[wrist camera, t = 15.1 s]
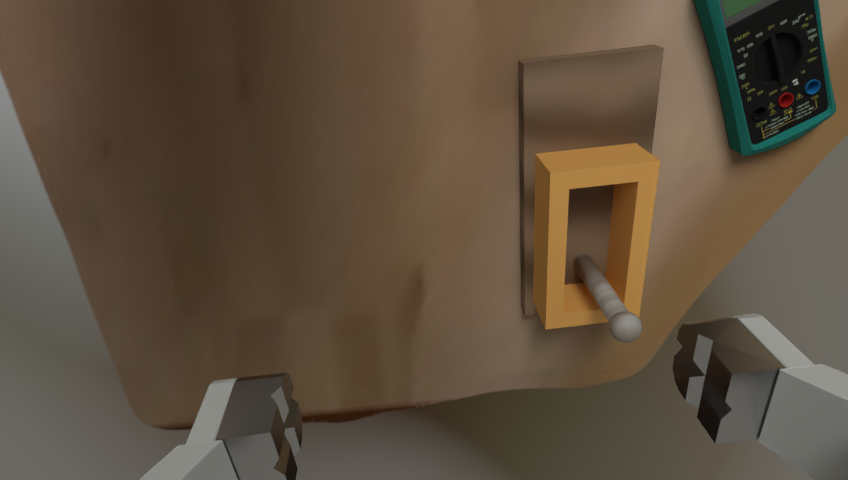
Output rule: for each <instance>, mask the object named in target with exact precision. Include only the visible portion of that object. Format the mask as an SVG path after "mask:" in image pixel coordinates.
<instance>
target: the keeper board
mask: <svg viewBox="0 0 848 480" xmlns="http://www.w3.org/2000/svg"><path fill="white" fill-rule="evenodd" d="M663 49H664V48H662V47H659V46H656V45H648V46H639V47H631V48H622V49H613V50H605V51H596V52H587V53H579V54H570V55H561V56H553V57H544V58H535V59H527V60H519V148H520V242H521V307H522V309H523V312H524V314H525V316H527V315H535V314H538V312H537V309H536V307H535V305H534V302H533V275H534V214H535V154H538V153H548V152H557V151H566V150H575V149H585V148H594V147H603V146H612V145H622V144H631V143H637V144H638V145H639V146H641V147H642V148H644V149H645V150H646V151H648V152H649V153H650V154H651V153H652V145H653V136H654V127H655V119H656V110H657V101H658V93H659V84H660V75H661V67H662V58H663ZM613 193H614V184H612V185H603V186H594V187H585V188H575V189H569V205H568V225H567V244H566V264H565V284H564V285H568V284H576V283H585V285H586V286H587V288H588V290H589V291H590V293H591V294H592V296H593V298H594V299H595V301H596V302H597V304H598V306H599V307H600V309H601V310H602V312H603V314H604V315H605V317H606V318H607V320H608V322H609V330H610V333H611V335H612V336H613V337H614V338H615V339H616V340H618V341H621V342H626V343H627V342H632V341H634V340H636V339H637V338H638V337H639V336H640V334H641V331H642V324H641V321H640V319H639V318H638V317H637V316H636V315H635V314H633V313H631V312H629V311H628V310H627V308H626V307H625V305H624V304H623V303H622V301H621V300H620V298H619V297H618V295H617V294H616V292H615V291H614V290H613V288H612V287H611V285H610V284H609V282H608V281H607V280H606V278H605V277H606V267H607V256H608V246H609V235H610V224H611V214H612V203H613Z"/></svg>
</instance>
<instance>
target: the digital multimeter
mask: <svg viewBox="0 0 848 480" xmlns="http://www.w3.org/2000/svg"><path fill="white" fill-rule="evenodd" d="M694 1H695V5H696V8H697V11H698V15H699V18H700V21H701V24H702V28H703V31H704V34H705V37H706V41H707V45H708V48H709V52H710V56H711V60H712V64H713V67H714V71H715V75H716V79H717V83H718V88H719V93H720V98H721V103H722V108H723V112H724V117H725V123H726V129H727V134H728V140H729V146H730V148H731V149H733V150H735V151H737V152H738V153H740V154H742V155H744V156H749V155H753V154H757V153H761V152H765V151H768V150H771V149H774V148H777V147H780V146H783V145H785V144H787V143H789V142H791V141H793V140H795V139H798V138H799V137H801V136H803V135H804V134H806V133H807V132H809V131H811V130H812V129H814V128H815V127H817V126H818V125H820V124H821V123H822V122H824V121H825V120H827V119H828V118H829V117H831V116H832V115H833V114H834V113H835V111H836V104H835V99H834V95H833V90H832V85H831V80H830V75H829V69H828V64H827V58H826V52H825V47H824V41H823V34H822V26H821V17H820V9H819V1H818V0H694ZM726 32H727V33H726ZM727 37H728V38H727ZM728 41H729V42H728ZM729 45H730V47H729ZM804 45H805V46H804ZM730 50H731V51H730ZM731 54H732V56H731ZM732 59H733V60H732ZM733 63H734V65H733ZM734 68H735V69H734ZM735 72H736V74H735ZM736 77H737V78H736ZM737 81H738V82H737ZM738 86H739V87H738ZM739 90H740V91H739ZM740 94H741V96H740ZM741 99H742V100H741ZM742 103H743V104H742ZM745 117H746V118H745ZM746 121H747V122H746ZM747 126H748V127H747ZM748 130H749V131H748ZM750 139H751V140H750Z"/></svg>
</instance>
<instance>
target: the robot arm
mask: <svg viewBox="0 0 848 480" xmlns="http://www.w3.org/2000/svg"><path fill="white" fill-rule="evenodd" d="M677 340H678V341H679V342H680V344H681V345H682V346H683V347H682V348H681V349H680V350H679V351H678V352H677V353H676V354H675V356H674V362H673V373H674V379H675V383H676V385H677V387H678V390H679V392H680V393H681V395H682V396H683V398H684V399H685V401H687V402H689V403H690V404H692V405H694V406H696V407H698V408H699V409H698V415H697V418H698V420H699V421H700V423H701V424H702V426H703V427H704V428H705V430H706V431H707V433H708V434H709V436H710V437H711V439H712V440H713V441H714V443H715V444H718V443H728V442H738V441H747V440H758V439H759V441H758V442H760V443H761V444H763V445H764V446H766V447H767V448H769V449H770V450H772V451H773V452H774V453H776V454H777V455H779V456H780V457H782V458H784V459H785V460H786V461H788V462H789V463H791V464H792V465H794V466H795V467H797V468H798V469H800V470H801V471H803V472H804V473H806V474H807V475H809V476H810V477H812V478H813V479H815V480H848V374H845V373H843V372H840V371H838V370H836V369H833V368H831V367H828V366H826V365H823V364H819V365H814V364H813V363H812V362H811V361H810V360H809V359H808V358H807V357H806V356H805V355H803V354H802V353H801V352H800V351H799V350H798V349H797V348H796V347H795V346H794V345H793V344H792V343H791V342H790V341H788V340H787V339H786V338H785V337H784V336H783V335H782V334H781V333H780V332H779V331H778V330H777V329H776V328H775V327H774V326H772V325H771V324H770V323H769V322H768V321H767V320H766V319H765V318H764V317H763V316H761V315H759V314H756V313H753V314H746V315H740V316H732V317H730V318H721V319H713V320H706V321H698V322H691V323H683V324H682V325H681V327H680V328H679V331H678V337H677ZM292 393H293V384H292V381H291V378H290V375H289V374H287V373H279V374H269V375H259V376H249V377H239V378H234V379H224V380H214V381H213V382H212V383H211V384H210V385H209V387H208V389H207V392H206V394H205V397H204V399H203V402H202V404H201V407H200V409H199V412H198V414H197V417H196V419H195V422H194V424H193V427H192V429H191V432H190V434H189V437H188V439H187V442H186V444H185V445H178V446H177V447H176V448H174V449H173V450H172V451H171V452H170V453H169V454H168V455H167V456H165V457H164V458H163V459H162V460H161V461H160V462H159V463H158V464H156V465H155V466H154V467H153V468H152V469H151V470H149V471H148V472H147V473H146V474H145V475H144V476H143V477H142V478H140V479H139V480H296V475H297V465H296V462H295V459H294V456H295V455H296V454H297V453H298V452H299V451H300V450H301V442H302V418H301V411H300V408H299V404H298V402H296V401H295V400H293V399H292Z"/></svg>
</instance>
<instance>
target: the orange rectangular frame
mask: <svg viewBox="0 0 848 480" xmlns="http://www.w3.org/2000/svg"><path fill="white" fill-rule="evenodd" d="M659 167H660V160H658V159H657V158H656V157H654V156H653V155H652V154H650V153H649V152H648V151H646V150H645V149H644V148H642V147H641V146H639V145H638V144H637V143H631V144H622V145H612V146H603V147H594V148H585V149H575V150H566V151H557V152H548V153H538V154H535V214H534V275H533V302H534V305H535V307H536V309H537V312H538V314H539V316H540V318H541V321H542V323H543V325H544V327H545V330H546V329H555V328H563V327H572V326H580V325H589V324H597V323H606V322H608V320H607V318H606V317H605V315H604V314H603V312H602V310H601V309H600V307H599V306H598V304H597V302H596V301H595V299H594V298H593V296H592V294H591V293H590V291H589V290H588V288H587V286H586V285H585V283H576V284H568V285H564V284H565V264H566V244H567V225H568V205H569V189H575V188H585V187H594V186H603V185H612V184H614V193H613V203H612V214H611V224H610V235H609V246H608V256H607V267H606V277H605V278H606V280H607V281H608V282H609V284H610V285H611V287H612V288H613V290H614V291H615V292H616V294H617V295H618V297H619V298H620V300H621V301H622V303H623V304H624V305H625V307H626V308H627V310H628V311H629V312H631V313H633V314H635V315H636V316H637V317H638V318H639V313H640V306H641V299H642V291H643V284H644V277H645V269H646V262H647V255H648V247H649V240H650V233H651V225H652V218H653V211H654V203H655V196H656V189H657V181H658V174H659Z"/></svg>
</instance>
